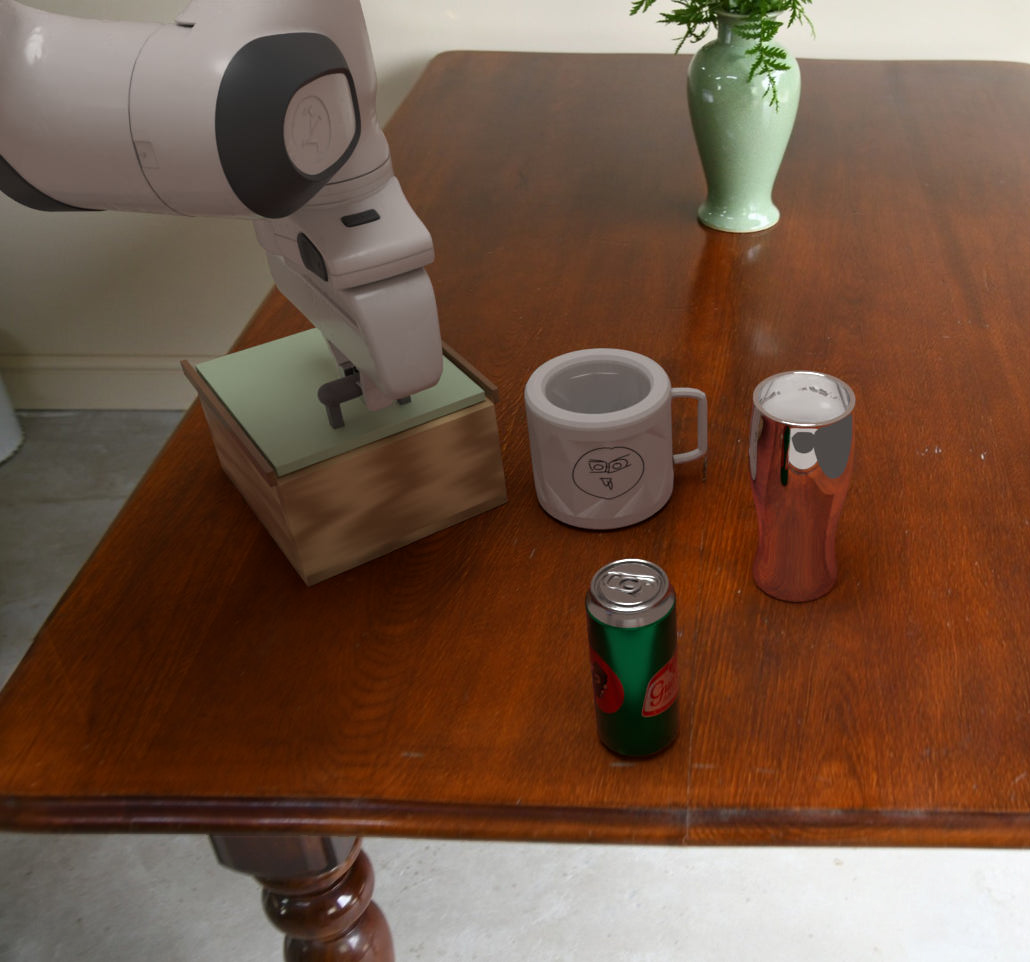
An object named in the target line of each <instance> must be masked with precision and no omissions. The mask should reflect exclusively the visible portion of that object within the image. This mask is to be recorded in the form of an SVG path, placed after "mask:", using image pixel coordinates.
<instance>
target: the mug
mask: <svg viewBox="0 0 1030 962" xmlns="http://www.w3.org/2000/svg"><path fill="white" fill-rule="evenodd" d="M523 397H524V406H525V415H526V423H527V432H528V438H529V448H530V455H531V464H532V472H533V481H534V482H533V483H534V487H535V492H536V497H537V501H538V502H539V504H540V506H541V507H542V509H543V510H544V511H545V512H546V513H547V514H548V515H550V516H551V517H553V518H554V519H556V520H558V521H560V522H561V523H564V524H567V525H569V526H573V527H577V528H581V529H587V530H601V531H603V530H615V529H620V528H624V527H628V526H632V525H636V524H637V523H641V522H642V521H645V520H646V519H648V518H650V517H652V516H653V515H654V514H655V513H657V512H659V511H660V510H661V509H662V508H663V507H664V506H665V505H666V504H667V503H668V501H669V500H670V498H671V496H672V493H673V489H674V477H675V476H674V475H675V472H674V465H681V464H686V463H690V462H693V461H696V460H699V459H700V458H701V457H703V456H705V455H706V453H707V450H708V400H707V396H706V393H705V392H704V391H701V390H700V389H698V388H692V387H672V384H671V380H670V378H669V375H668V373H667V372H666V371H665V370H664V368H663V366H661V365H660V364H659V363H658V362H656V361H655V360H653V359H651V358H650V357H648V356H646V355H643V354H641V353H638V352H634V351H631V350H626V349H619V348H607V347H606V348H605V347H603V348H602V347H600V348H599V347H598V348H586V349H580V350H575V351H571V352H568V353H563V354H561V355H559V356H556V357H554V358H551V359H549V360H548V361H545V362H543V364H541V365H540V366H539V367H537V368H536V369H535V370H534V371H533V373H532V374H531V375H530V376H529V378H528V380H527V382H526V384H525V387H524V396H523ZM676 398H687V399H688V398H691V399H696V400H698V401H697V404H696V405H697V410H696V411H697V412H696V413H697V448H696V449H694V450H691V451H688V452H685V453H683V452H682V453H678V454H673V428H672V427H673V424H672V400H673V399H676Z"/></svg>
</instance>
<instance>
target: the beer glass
mask: <svg viewBox="0 0 1030 962" xmlns="http://www.w3.org/2000/svg"><path fill="white" fill-rule="evenodd" d="M856 400H857V399H856V395H855V392H854V391H853V389H852V388H851V386H850V385H849V384H848V383H846V382H844V381H843V380H841V379H840V378H838V377H836V376H834V375H831V374H828V373H824V372H819V371H814V370H789V371H782V372H779V373H775V374H773V375H770V376H768V377H766V378H765V379H763V380H761V381H760V382H759V383H758V384H757V385H756V386H755V388H754V390H753V393H752V405H751V413H750V421H749V422H750V423H749V432H748V472H749V480H750V486H751V487H750V488H751V492H752V497H753V503H754V508H755V513H756V517H757V525H758V542H757V548H756V550H755V555H754V559H753V563H752V577H753V581H754V583H755V584H756V586H757V587H758V588H759V589H760V590H761V592H763V593H765V594H767V595H768V596H770V597H772V598H774V599H777V600H780V601H783V602H790V603H802V602H803V603H805V602H810V601H813V600H817V599H819V598H821V597H823V596H825V595H827V594H828V593H830V591H831V590H832V589H833V588H834V587H835V585H836V583H837V580H838V575H839V574H838V573H839V571H838V562H837V555H836V548H835V546H836V545H835V541H836V533H837V528H838V524H839V521H840V517H841V513H842V511H843V507H844V504H845V502H846V499H847V494H848V492H849V488H850V483H851V480H852V479H851V478H852V475H853V468H854V462H855V461H854V460H855V453H856V450H855V449H856V402H857V401H856Z"/></svg>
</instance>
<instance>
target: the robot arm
mask: <svg viewBox="0 0 1030 962" xmlns="http://www.w3.org/2000/svg"><path fill="white" fill-rule="evenodd" d="M377 76H378V75H377V72H376V65H375V60H374V54H373V50H372V46H371V40H370V36H369V31H368V27H367V23H366V19H365V15H364V11H363V8H362V3H361V0H190V1H189V3H188V4H187V6H185V8H184V10H182V11H181V13H179V14H178V15H177V16H176V17H175V18H174V22H157V21H140V20H139V21H138V20H119V19H104V18H103V19H102V18H101V19H100V18H89V17H88V18H87V17H80V16H73V15H68V14H61V13H57V12H51V11H47V10H43V9H39V8H36V7H32V6H29V5H27V4H23V3H20V2H19V1H16V0H0V192H1V193H3V194H4V195H5V196H7V197H8V198H9V199H11V200H13V201H14V202H15V203H18V204H19V205H21V206H23V207H26V208H29V209H32V210H36V211H39V212H45V213H46V212H48V213H59V212H60V213H70V212H71V213H72V212H73V213H75V212H77V213H78V212H80V213H82V212H84V213H85V212H86V213H87V212H90V213H91V212H107V211H111V212H112V211H114V212H123V213H124V212H125V213H139V214H149V215H163V216H175V217H188V218H196V217H198V218H200V217H201V218H210V219H211V218H212V219H222V220H223V219H226V220H241V221H252V225H253V230H254V233H255V236H256V237H255V238H256V240H257V242H258V244H259V245H260V247H262V248H263V249H264V250H265V255H266V259H267V260H266V261H267V263H268V268H269V271H270V274H271V277H272V278H273V282H274V284H275V286H276V288H277V289H278V291H279V293H281V294H282V295H283V296H284V297H285V299H287V300H288V301H289V302H290V303H291V304H292V306H294V307H295V308H296V309H297V310H298V311H299V312H300V313H301V314H302V315H303V316H304V317H305V318H306V319H307V320H308V321H309V322H310V323H311V324H312V325H313V326H314V328H317V329H318V330H319V331H320V332H321V333H322V336H323V338H324V340H325V342H326V344H327V346H328V348H329V350H330V353H331V355H332V357H333V359H334V361H335V363H336V368H337V372H338V376H339V379H340V378H343V377H346V376H349V375H352V374H355V373H358V372H360V381H358V382H356V384H357V389H358V392H359V398H360V400H361V401H362V402H363V403H364V404H365V406H366V407H367V408H368V409H369V410H370V411H377V410H380V409H383V408H386V407H389V406H390V405H391V404H392V402H393V400H397V399H401V398H404V397H407V396H410V395H413V394H416V393H419V392H421V391H424V390H427V389H429V388H432V387H434V386H436V385H437V384H438V382H439V380H440V378H441V376H442V373H443V354H442V344H441V339H442V335H441V328H440V326H441V325H440V320H439V319H440V318H439V313H438V306H437V301H436V300H437V299H436V295H435V290H434V287H433V284H432V281H431V279H430V276H429V274H428V272H427V270H426V268H425V266H428V265H430V264H432V263H434V262H435V258H436V256H435V247H434V242H433V238H432V235H431V232H430V231H429V230H428V228H427V226H426V225H425V224H424V223H423V221H422V220H421V219H420V217H419V216H418V215H417V214H416V212H415V211H414V209H413V208H412V206H411V205H410V203H409V201H408V199H407V197H406V195H405V194H404V191H403V189H402V187H401V183H400V180H399V179H398V177H396V176H395V172H394V167H393V161H392V156H391V149H390V146H389V142H388V140H387V137H386V135H385V133H384V132H383V130H382V127H381V125H380V123H379V120H378V115H377V107H376V106H377V105H376V100H377V91H378V90H377V89H378V77H377Z"/></svg>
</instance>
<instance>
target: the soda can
mask: <svg viewBox="0 0 1030 962" xmlns="http://www.w3.org/2000/svg"><path fill="white" fill-rule="evenodd" d="M584 609H585V621H586V630H587V640H588V652H589V661H590V671H591V683H592V692H593V693H592V694H593V702H594V712H595V724H596V725H595V726H596V733H597V734H598V737H599V739H600V740H601V742H602V743H603V745H605V746H606V747H607V748H608V749H610V750H611V751H613V752H615V753H617V754H620V755H623V756H628V757H646V756H651V755H653V754H655V753H658V752H660V751H661V750H663V749H665V748H666V747H668V746H669V745H670V744H672V742H673V740H674V739H675V738H676V736H677V734H678V732H679V730H680V724H681V715H680V683H679V682H680V681H679V679H680V678H679V652H678V651H679V649H678V647H679V646H678V617H677V616H678V615H677V593H676V590H675V588H674V586H673V584H672V583H671V582H670V580H669V576H668V575H667V574H666V572H665V571H664V570H663V568H662V567H660V566H659V565H658V564H656V563H654V562H651V561H649V560H646V559H640V558H624V559H623V558H622V559H617V560H615V561H611V562H609V563H607V564H605V565H604V566H602V567H601V568H599V569H598V570H597V571H596V572H595V574H594V575H593V577H592V579H591V581H590V586H589V588H588V589H587V590H586V593H585V597H584Z"/></svg>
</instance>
